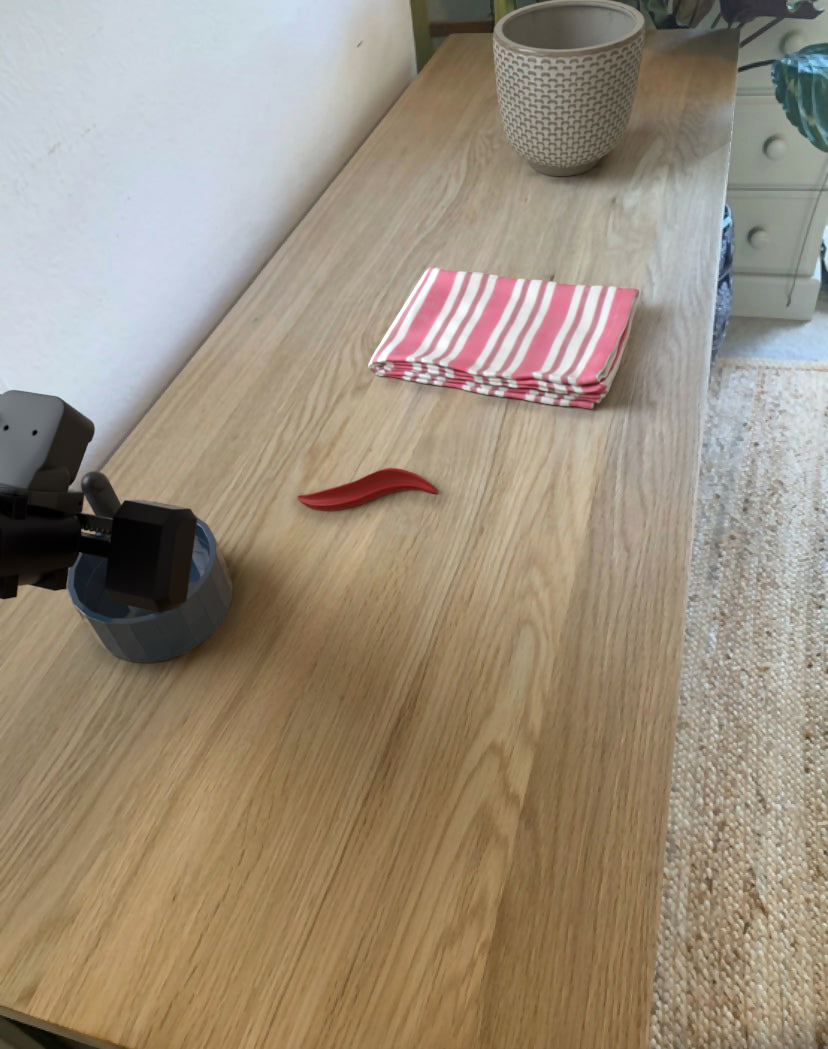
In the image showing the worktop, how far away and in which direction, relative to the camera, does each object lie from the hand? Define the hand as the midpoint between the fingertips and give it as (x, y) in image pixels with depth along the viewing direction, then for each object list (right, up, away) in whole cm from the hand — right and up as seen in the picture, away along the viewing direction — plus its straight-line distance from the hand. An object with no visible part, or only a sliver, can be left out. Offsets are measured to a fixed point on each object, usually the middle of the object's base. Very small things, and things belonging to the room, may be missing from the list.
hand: (132, 528), depth 61 cm
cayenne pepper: (+16, +3, +12) cm, 20 cm away
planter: (+39, +47, +48) cm, 78 cm away
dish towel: (+29, +18, +24) cm, 42 cm away
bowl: (+1, -6, +6) cm, 8 cm away
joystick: (0, -6, +5) cm, 8 cm away
